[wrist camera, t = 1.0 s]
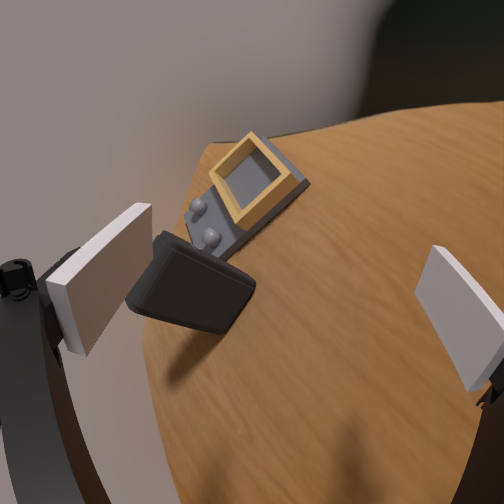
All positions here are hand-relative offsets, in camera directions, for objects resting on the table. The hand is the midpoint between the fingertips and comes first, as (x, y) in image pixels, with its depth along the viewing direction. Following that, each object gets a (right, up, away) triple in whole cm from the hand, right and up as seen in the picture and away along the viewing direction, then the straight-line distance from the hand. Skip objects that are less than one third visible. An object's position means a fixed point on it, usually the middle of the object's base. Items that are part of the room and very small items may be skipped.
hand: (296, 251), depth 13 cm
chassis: (-4, +8, +34) cm, 35 cm away
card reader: (-4, -7, +28) cm, 29 cm away
